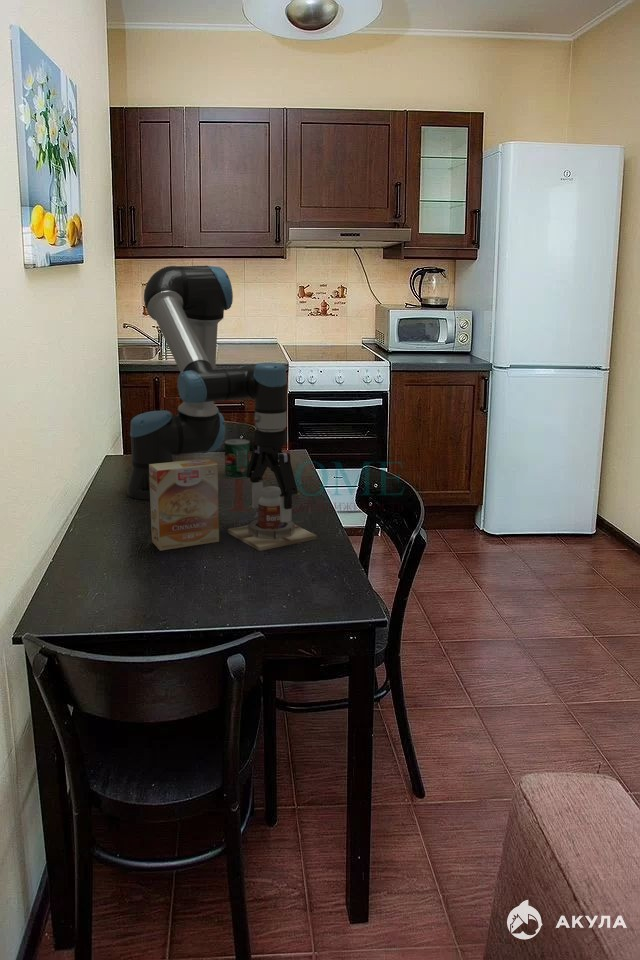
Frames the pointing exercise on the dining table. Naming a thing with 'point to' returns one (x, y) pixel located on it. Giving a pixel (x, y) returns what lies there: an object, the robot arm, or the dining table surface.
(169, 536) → the coffeecake box
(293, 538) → the socket
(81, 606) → the dining table surface
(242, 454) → the canned tomato
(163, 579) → the dining table surface
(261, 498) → the pill bottle
